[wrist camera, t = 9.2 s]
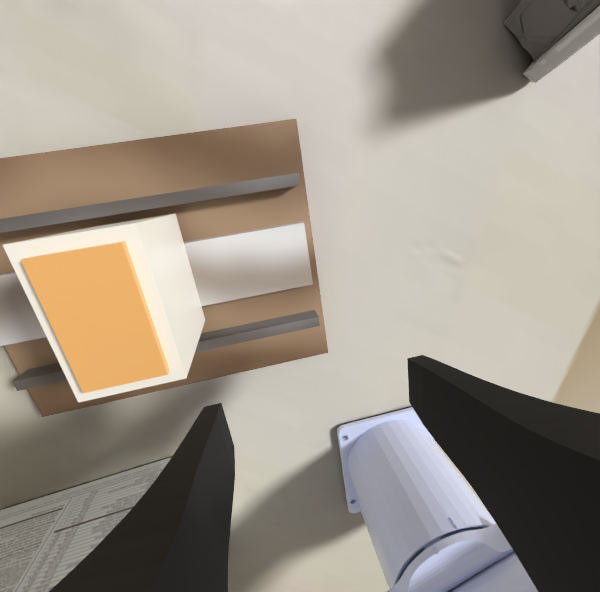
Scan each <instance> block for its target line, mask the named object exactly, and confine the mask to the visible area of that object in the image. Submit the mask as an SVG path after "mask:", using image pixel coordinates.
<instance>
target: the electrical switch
mask: <svg viewBox="0 0 600 592" xmlns="http://www.w3.org/2000/svg"><path fill="white" fill-rule="evenodd" d="M503 24H504V25H505V26H506V27H507V28H508V29H509V30H510V31H511V32H512V33H513V34H514V35H515V36H516V37H517V38H518V40H519V41H520V43H521V45H522V47H523V48H524V49H525V50H527V51H528V52H529V53H530V55H531V57H532V58H533V60H534V61H533V62H532V63H531V64H530V65H529V67H528V68H527V69H526V70H525V71H524V72H523V74H524V76H526V77H527V78H528V79H529V80H530V81H531V82H537V81H538V80H540V79H541V78H542V77H544V76H545V75H547V74H548V73H549V72H551V71H552V70H553V69H555V68H556V67H558V66H559V65H560V64H562V63H563V62H564V61H565V60H567V59H568V58H569V57H570V56H572V55H573V54H574V53H576V52H577V51H578V50H579V49H581V48H582V47H583V46H584V45H586V44H587V43H588V42H590V41H591V40H592V39H593V38H595V37H596V36H597V35H599V34H600V0H564V1H563V0H521V1H520V2H519V4H518V5H517V6H516V7H515V9H514V10H513V11H512V12H511V13H510V15H509V16H508V17H507V18H506V20H505V21H504V22H503Z"/></svg>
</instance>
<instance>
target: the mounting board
mask: <svg viewBox="0 0 600 592" xmlns="http://www.w3.org/2000/svg"><path fill="white" fill-rule="evenodd" d="M175 213H176V217H177V220H178V224H179V228H180V231H181V235H182V238H183V242H184V245H185V249H186V253H187V256H188V260H189V263H190V267H191V270H192V274H193V278H194V281H195V285H196V288H197V292H198V295H199V299H200V303H201V306H202V310H203V313H204V317H205V323H204V326H203V329H202V332H201V335H200V338H199V341H198V344H197V347H196V350H195V354H194V357H193V360H192V363H191V366H190V369H189V372H188V375H187V378H186V379H182V380H177V381H173V382H168V383H164V384H159V385H155V386H150V387H146V388H141V389H137V390H132V391H128V392H123V393H119V394H115V395H110V396H106V397H101V398H97V399H92V400H88V401H83V402H79V403H78V401H77V399H76V397H75V395H74V393H73V391H72V389H71V386H70V384H69V382H68V380H67V378H66V376H65V374H64V372H63V370H62V368H61V366H60V364H59V362H58V359H57V357H56V355H55V353H54V351H53V349H52V347H51V345H50V343H49V341H48V339H47V337H46V335H45V332H44V330H43V328H42V326H41V324H40V322H39V320H38V318H37V316H36V314H35V312H34V310H33V308H32V305H31V303H30V301H29V299H28V297H27V295H26V293H25V291H24V289H23V287H22V285H21V283H20V281H19V279H18V276H17V274H16V272H15V270H14V268H13V266H12V264H11V262H10V260H9V258H8V256H7V254H6V252H5V249H4V247H3V245H4V244H9V243H14V242H19V241H24V240H29V239H34V238H39V237H44V236H50V235H55V234H60V233H65V232H70V231H75V230H80V229H85V228H90V227H95V226H102V225H108V224H114V223H120V222H126V221H132V220H138V219H145V218H151V217H157V216H163V215H169V214H175ZM0 346H5V348H6V350H7V352H8V354H9V356H10V357H11V359H12V361H13V363H14V365H15V367H16V369H17V370H18V372H19V374H20V376H19V377H17V378H16V379H15V380H14V381H12V382H13V383H14V385H15V387H16V389H17V391H18V390H23V389H28V391H29V393H30V395H31V396H32V398H33V400H34V402H35V404H36V406H37V407H38V409H39V411H40V413H41V415H42V417H44V416H49V415H53V414H57V413H62V412H66V411H71V410H75V409H80V408H84V407H88V406H93V405H97V404H102V403H106V402H111V401H115V400H120V399H124V398H128V397H133V396H137V395H142V394H146V393H151V392H155V391H159V390H164V389H168V388H173V387H177V386H182V385H186V384H190V383H195V382H199V381H204V380H208V379H213V378H217V377H222V376H226V375H230V374H235V373H239V372H244V371H248V370H253V369H257V368H261V367H266V366H270V365H275V364H279V363H284V362H288V361H292V360H297V359H301V358H306V357H310V356H315V355H319V354H324V353H328V348H327V341H326V334H325V326H324V319H323V312H322V304H321V297H320V290H319V282H318V275H317V268H316V260H315V253H314V246H313V238H312V231H311V224H310V216H309V209H308V202H307V194H306V187H305V180H304V172H303V165H302V158H301V150H300V143H299V136H298V128H297V121H296V119H291V120H284V121H277V122H269V123H262V124H254V125H247V126H239V127H232V128H224V129H217V130H209V131H202V132H194V133H187V134H179V135H172V136H164V137H157V138H149V139H142V140H134V141H127V142H119V143H112V144H104V145H97V146H89V147H82V148H74V149H67V150H60V151H52V152H45V153H37V154H30V155H22V156H15V157H7V158H0Z"/></svg>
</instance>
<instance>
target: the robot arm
mask: <svg viewBox="0 0 600 592" xmlns="http://www.w3.org/2000/svg"><path fill="white" fill-rule="evenodd" d="M408 379H409V402H410V404H411V405H412V407H410V408H406V409H403V410H399V411H395V412H391V413H387V414H383V415H379V416H375V417H371V418H367V419H363V420H359V421H355V422H352V423H348V424H344V425H341V426H339V427H338V429H337V435H338V442H339V450H340V457H341V464H342V471H343V478H344V486H345V493H346V500H347V507H348V511H349V513H351V514H355V513H358V512H361V513H362V516H363V518H364V521H365V524H366V527H367V529H368V532H369V535H370V537H371V540H372V543H373V546H374V548H375V551H376V554H377V557H378V559H379V562H380V565H381V567H382V570H383V573H384V576H385V578H386V581H387V584H388V586H389V588H390V590H388V591H387V592H600V414H599V413H594V412H589V411H585V410H581V409H577V408H572V407H568V406H564V405H560V404H556V403H552V402H548V401H545V400H541V399H538V398H535V397H531V396H528V395H525V394H521V393H518V392H515V391H512V390H509V389H507V388H504V387H501V386H498V385H495V384H493V383H490V382H487V381H485V380H482V379H480V378H477V377H475V376H472V375H470V374H467V373H465V372H463V371H460V370H458V369H455V368H453V367H451V366H448V365H446V364H444V363H441V362H439V361H437V360H434V359H432V358H429V357H426V356H423V355H421V356H417V357H412V358H408ZM345 435H346V436H345ZM343 436H345V437H343ZM434 439H435V441H436V442H437V443H438V444H439V446H440V447H441V448H442V449H443V451H444V452H445V453H446V454H447V456H448V457H449V458H450V459H451V461H452V462H453V463H454V464H455V466H456V467H457V468H458V469H459V471H460V472H461V473H462V474H463V476H464V477H465V478H466V480H467V481H468V482H469V484H470V485H471V486H472V488H473V489H474V490H475V492H476V493H477V495H478V496H479V498H480V499H481V501H482V502H483V504H484V505H485V507H486V508H487V510H488V511H487V510H486V509H485V507H484V506H483V505H482V504H481V502H480V501H479V500H478V498H477V497H476V496H475V494H474V493H473V492H472V491H471V489H470V488H469V487H468V485H467V484H466V483H465V482H464V480H463V479H462V478H461V476H460V475H459V474H458V472H457V471H456V470H455V469H454V467H453V466H452V465H451V463H450V462H449V461H448V459H447V458H446V457H445V456H444V454H443V453H442V452H441V450H440V449H439V448H438V447H437V445H436V444H435V443H434ZM234 480H235V458H234V445H233V441H232V438H231V434H230V431H229V428H228V424H227V421H226V417H225V414H224V411H223V407H222V404H221V403H219V404H215V405H211V406H206V407H204V408H203V410H202V411H201V413H200V414H199V416H198V417H197V419H196V421H195V422H194V424H193V426H192V427H191V429H190V430H189V432H188V434H187V435H186V437H185V438H184V440H183V441H182V443H181V444H180V446H179V447H178V449H177V450H176V452H175V453H174V455H173V456H172V458H171V459H170V461H169V462H168V463H167V465H166V466H165V468H164V469H163V470H162V472H161V473H160V474H159V476H158V477H157V479H156V480H155V481H154V482H153V484H152V485H151V486H150V488H149V489H148V490H147V491H146V493H145V494H144V495H143V496H142V497H141V499H140V500H139V501H138V502H137V503H136V504H135V506H134V507H133V508H132V509H131V510H130V511H129V512H128V514H127V515H126V516H125V517H124V518H123V519H122V520H121V521H120V522H119V523H118V524H117V525H116V526H115V527H114V529H113V530H112V531H111V532H110V533H109V534H108V535H107V536H106V537H105V538H104V539H103V540H102V541H101V542H100V543H99V544H98V545H97V546H96V547H95V548H94V549H93V550H92V551H91V552H90V553H89V554H88V555H87V556H86V557H85V558H84V559H83V560H82V561H81V562H80V563H79V564H78V565H77V566H76V567H75V568H74V569H73V570H72V571H71V572H70V573H68V574H67V575H66V576H65V577H64V578H63V579H62V580H61V581H60V582H59V583H58V584H57V585H56V586H54V587H53V588H52V589H51V590H50V591H49V592H228V549H229V536H230V525H231V514H232V503H233V492H234ZM488 512H489V513H490V514H489V513H488ZM491 516H492V517H491Z"/></svg>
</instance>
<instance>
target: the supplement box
mask: <svg viewBox="0 0 600 592" xmlns="http://www.w3.org/2000/svg"><path fill="white" fill-rule="evenodd" d="M171 458H172V457H170V458H167V459H163V460H160V461H157V462H154V463H151V464H147V465H144V466H141V467H138V468H134V469H131V470H128V471H125V472H122V473H118V474H115V475H112V476H109V477H105V478H102V479H99V480H96V481H92V482H89V483H86V484H83V485H80V486H76V487H73V488H70V489H67V490H63V491H60V492H57V493H54V494H51V495H47V496H44V497H41V498H38V499H35V500H31V501H28V502H25V503H22V504H19V505H15V506H12V507H9V508H6V509H3V510H0V592H49V591H50V590H51V589H52V588H53V587H54V586H56V585H57V584H58V583H59V582H60V581H61V580H62V579H63V578H64V577H65V576H66V575H67V574H68V573H70V572H71V571H72V570H73V569H74V568H75V567H76V566H77V565H78V564H79V563H80V562H81V561H82V560H83V559H84V558H85V557H86V556H87V555H88V554H89V553H90V552H91V551H92V550H93V549H94V548H95V547H96V546H97V545H98V544H99V543H100V542H101V541H102V540H103V539H104V538H105V537H106V536H107V535H108V534H109V533H110V532H111V531H112V530H113V529H114V527H115V526H116V525H117V524H118V523H119V522H120V521H121V520H122V519H123V518H124V517H125V516H126V515H127V514H128V512H129V511H130V510H131V509H132V508H133V507H134V506H135V504H136V503H137V502H138V501H139V500H140V499H141V497H142V496H143V495H144V494H145V493H146V491H147V490H148V489H149V488H150V486H151V485H152V484H153V482H154V481H155V480H156V479H157V477H158V476H159V474H160V473H161V472H162V470H163V469H164V468H165V466H166V465H167V463H168V462H169V461H170V459H171Z"/></svg>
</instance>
